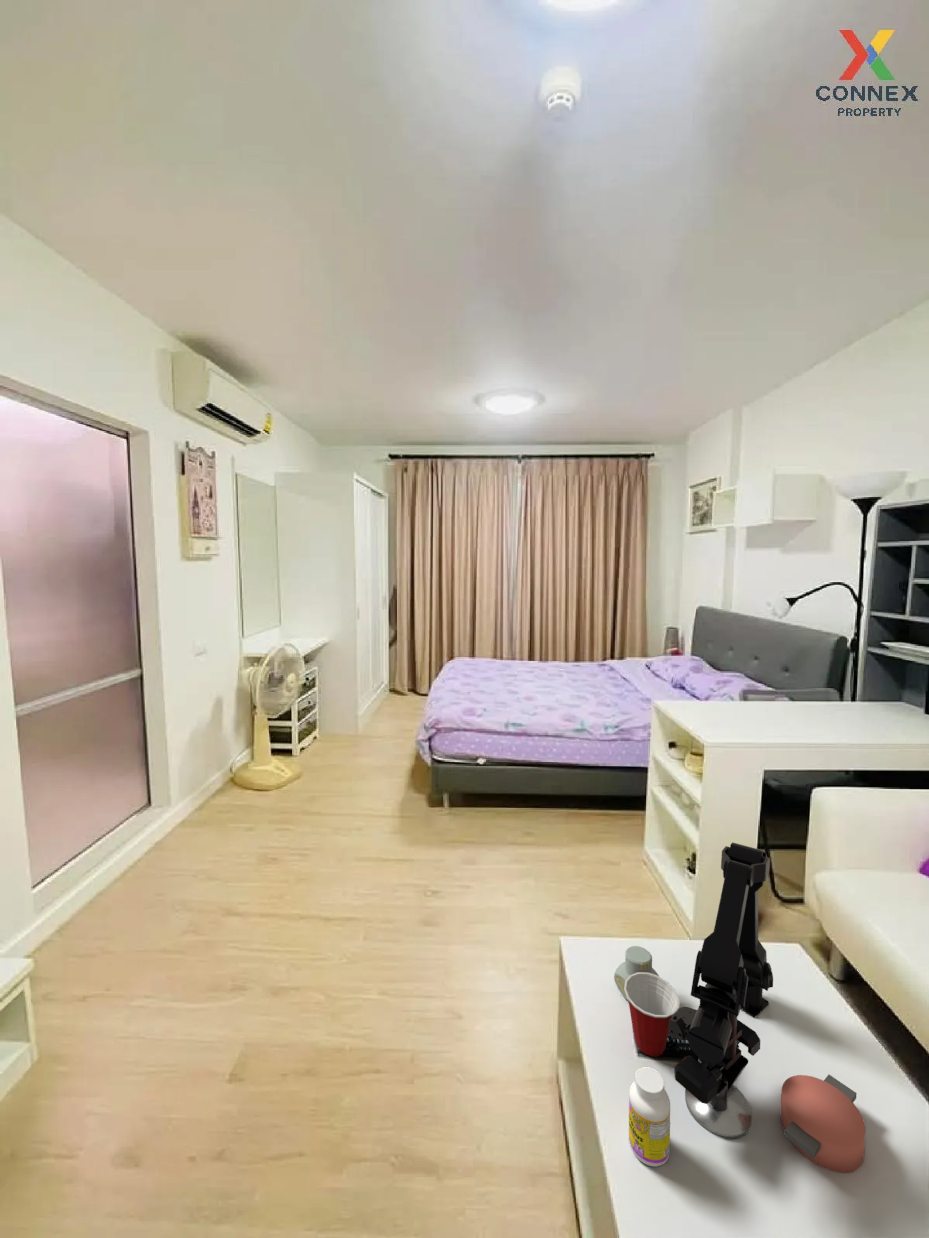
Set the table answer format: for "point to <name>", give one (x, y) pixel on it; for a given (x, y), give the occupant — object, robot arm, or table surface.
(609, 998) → the table surface
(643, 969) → the air freshener
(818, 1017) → the table surface
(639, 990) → the plastic cup
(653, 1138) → the supplement bottle
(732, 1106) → the lid
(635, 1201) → the table surface
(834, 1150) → the pot
